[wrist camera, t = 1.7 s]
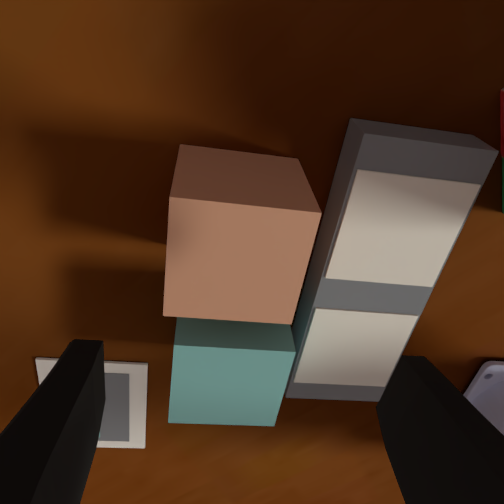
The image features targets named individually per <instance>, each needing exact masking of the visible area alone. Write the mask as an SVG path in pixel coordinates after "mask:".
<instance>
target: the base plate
mask: <svg viewBox="0 0 504 504" xmlns="http://www.w3.org/2000/svg"><path fill="white" fill-rule="evenodd" d="M498 153H499V151H497V150H496V149H494V148H493V147H491V146H490V145H488V144H486V143H485V142H483V141H482V140H480V139H479V138H477V137H476V136H474V135H470V134H462V133H455V132H448V131H441V130H434V129H427V128H420V127H412V126H405V125H398V124H391V123H384V122H377V121H370V120H363V119H355V118H350V120H349V124H348V127H347V131H346V135H345V138H344V142H343V146H342V149H341V153H340V157H339V160H338V164H337V167H336V171H335V175H334V178H333V182H332V186H331V189H330V193H329V197H328V200H327V204H326V208H325V211H324V215H323V218H322V222H321V226H320V229H319V233H318V237H317V240H316V244H315V248H314V251H313V255H312V258H311V262H310V266H309V269H308V273H307V277H306V280H305V284H304V288H303V291H302V295H301V299H300V302H299V306H298V309H297V313H296V317H295V320H294V324H293V328H292V336H293V341H294V346H295V350H296V353H295V357H294V360H293V364H292V367H291V371H290V374H289V377H288V381H287V384H286V388H285V391H284V392H285V398H303V399H327V400H351V401H375V402H379V400H380V398H381V396H382V394H383V392H384V390H385V388H386V386H387V384H388V382H389V380H390V378H391V375H392V373H393V371H394V369H395V367H396V365H397V363H398V361H399V359H400V357H401V355H402V353H403V350H404V348H405V346H406V344H407V342H408V340H409V338H410V336H411V334H412V332H413V330H414V328H415V326H416V323H417V321H418V319H419V317H420V315H421V313H422V311H423V309H424V307H425V305H426V303H427V301H428V298H429V296H430V294H431V292H432V290H433V288H434V286H435V284H436V282H437V280H438V278H439V276H440V273H441V271H442V269H443V267H444V265H445V263H446V261H447V259H448V257H449V255H450V253H451V251H452V248H453V246H454V244H455V242H456V240H457V238H458V236H459V234H460V232H461V230H462V228H463V226H464V223H465V221H466V219H467V217H468V215H469V213H470V211H471V209H472V207H473V205H474V203H475V201H476V198H477V196H478V194H479V192H480V190H481V188H482V186H483V184H484V182H485V180H486V178H487V176H488V173H489V171H490V169H491V167H492V165H493V163H494V161H495V159H496V157H497V155H498Z"/></svg>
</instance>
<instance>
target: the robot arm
mask: <svg viewBox="0 0 504 504" xmlns="http://www.w3.org/2000/svg"><path fill="white" fill-rule="evenodd" d="M105 400H106V395H105V372H104V349H103V341H100V340H80V339H74V340H73V341H72V342H70V343H69V345H68V346H67V348H66V349H65V351H64V352H63V354H62V355H61V357H60V358H59V359H58V361H57V362H56V364H55V365H54V367H53V368H52V369H51V371H50V372H49V373H48V375H47V376H46V377H45V379H44V380H43V381H42V383H41V384H40V385H39V387H38V388H37V389H36V391H35V392H34V393H33V394H32V396H31V397H30V398H29V399H28V401H27V402H26V403H25V404H24V406H23V407H22V408H21V409H20V411H19V412H18V413H17V414H16V415H15V417H14V418H13V419H12V420H11V422H10V423H9V424H8V425H7V426H6V428H5V429H4V430H3V431H2V432H1V433H0V504H80V501H81V498H82V495H83V491H84V488H85V485H86V481H87V478H88V474H89V471H90V468H91V464H92V461H93V457H94V454H95V450H96V447H97V443H98V438H99V433H100V428H101V422H102V417H103V411H104V406H105ZM376 410H377V414H378V419H379V423H380V428H381V432H382V436H383V440H384V444H385V448H386V451H387V454H388V457H389V460H390V462H391V465H392V468H393V471H394V473H395V476H396V479H397V482H398V484H399V487H400V490H401V493H402V495H403V498H404V501H405V503H406V504H504V362H503V361H488V362H486V363H484V364H483V365H482V366H481V368H480V369H479V371H478V373H477V374H476V376H475V377H474V379H473V380H472V382H471V384H470V385H469V387H468V388H467V390H466V392H465V393H464V395H463V394H462V393H461V392H460V391H459V390H458V389H457V388H456V387H455V386H454V385H453V384H452V383H451V382H450V381H449V380H448V379H447V378H446V377H445V376H444V375H443V374H442V373H441V372H440V371H439V370H438V369H437V368H436V367H435V366H434V365H433V364H432V363H431V362H429V361H428V360H427V359H426V358H425V357H423V356H403V355H402V356H401V358H400V360H399V362H398V364H397V366H396V368H395V370H394V372H393V374H392V376H391V378H390V380H389V382H388V384H387V386H386V388H385V390H384V392H383V394H382V396H381V398H380V400H379V402H378V404H377V406H376Z"/></svg>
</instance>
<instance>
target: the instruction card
mask: <svg viewBox="0 0 504 504" xmlns="http://www.w3.org/2000/svg"><path fill="white" fill-rule="evenodd" d="M58 359H59V358H41V357H36V359H35V361H36V367H37V373H38V379H39V385H40V384H41V383H42V381H43V380H44V379H45V377H46V376H47V375H48V373H49V372H50V371H51V369H52V368H53V367H54V365H55V364H56V362H57V361H58ZM104 372H105V395H106V400H105V406H104V411H103V417H102V422H101V428H100V433H99V438H98V443H97V447H110V448H145V435H146V405H147V374H148V363H138V362H119V361H104Z"/></svg>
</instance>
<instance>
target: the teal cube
mask: <svg viewBox="0 0 504 504" xmlns="http://www.w3.org/2000/svg"><path fill="white" fill-rule="evenodd" d="M295 353H296V350H295V346H294V341H293V336H292V331H291V327H290V324H277V323H262V322H247V321H232V320H217V319H202V318H187V317H177V322H176V331H175V340H174V351H173V364H172V377H171V390H170V403H169V416H168V423H189V424H220V425H251V426H274V425H275V422H276V418H277V415H278V412H279V408H280V405H281V401H282V398H283V394H284V391H285V388H286V384H287V381H288V377H289V374H290V371H291V367H292V364H293V360H294V357H295Z"/></svg>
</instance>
